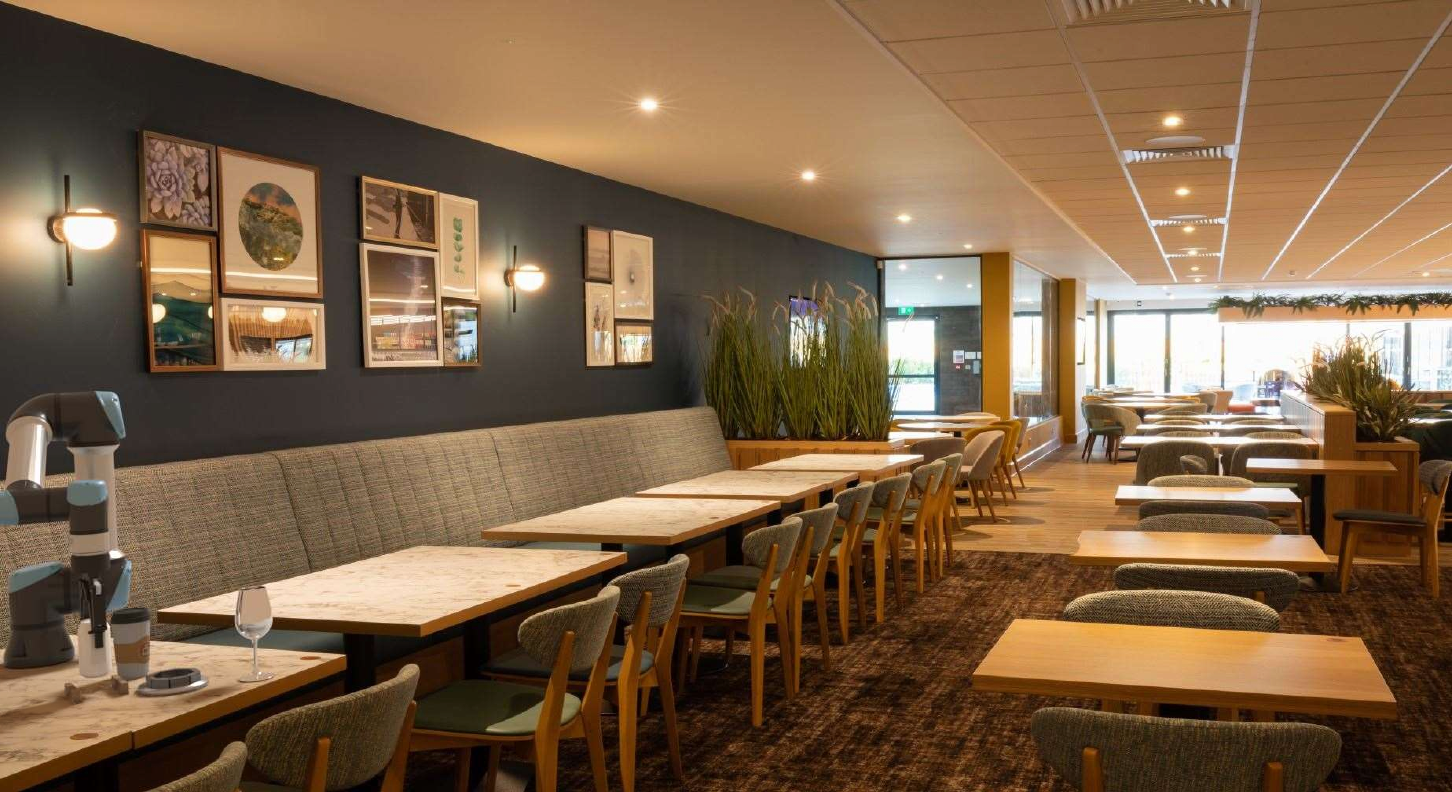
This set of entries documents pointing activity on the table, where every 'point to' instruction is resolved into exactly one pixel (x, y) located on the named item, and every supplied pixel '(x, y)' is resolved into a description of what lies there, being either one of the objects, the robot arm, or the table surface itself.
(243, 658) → the table surface
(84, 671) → the beverage can
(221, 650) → the table surface
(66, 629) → the robot arm
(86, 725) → the table surface
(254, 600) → the wineglass
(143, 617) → the coffee cup
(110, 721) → the table surface
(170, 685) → the hub collar
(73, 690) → the walnut cradle
